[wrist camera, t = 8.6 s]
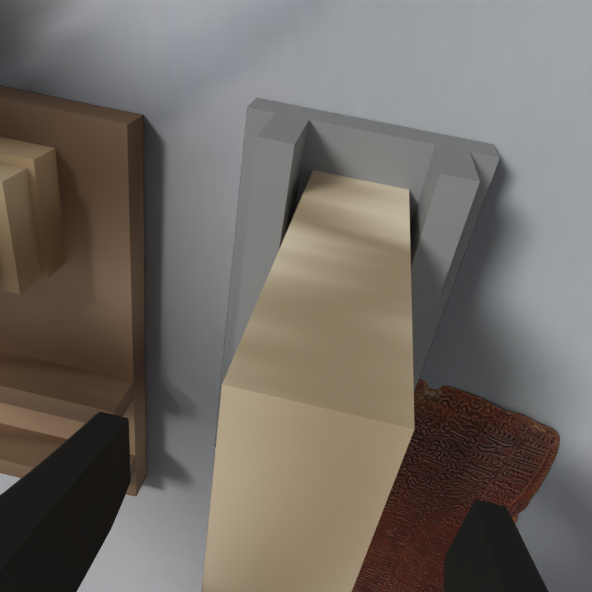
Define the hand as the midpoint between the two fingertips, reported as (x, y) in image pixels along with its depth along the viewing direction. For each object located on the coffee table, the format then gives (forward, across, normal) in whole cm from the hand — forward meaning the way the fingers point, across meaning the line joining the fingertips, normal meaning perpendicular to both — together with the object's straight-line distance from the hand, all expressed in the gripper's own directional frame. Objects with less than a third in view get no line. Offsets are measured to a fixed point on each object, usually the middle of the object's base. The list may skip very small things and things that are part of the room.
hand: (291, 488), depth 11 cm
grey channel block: (+7, 0, 0) cm, 7 cm away
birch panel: (+6, 0, 0) cm, 6 cm away
